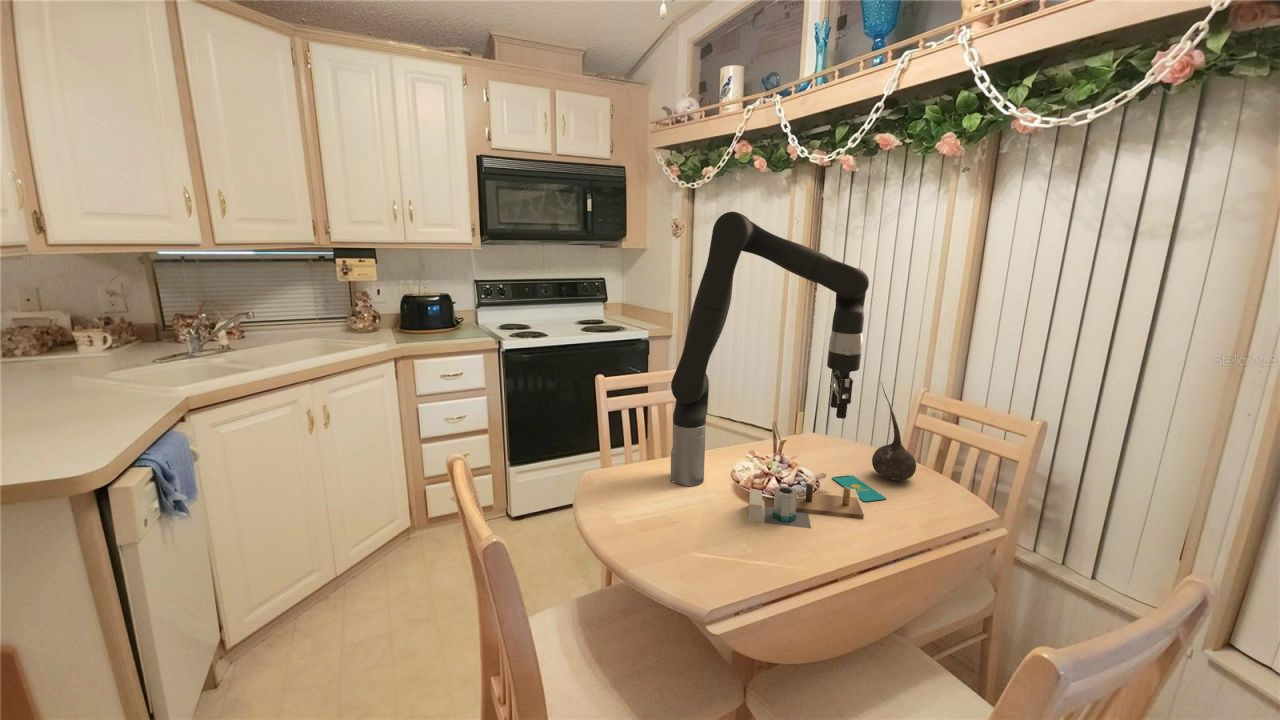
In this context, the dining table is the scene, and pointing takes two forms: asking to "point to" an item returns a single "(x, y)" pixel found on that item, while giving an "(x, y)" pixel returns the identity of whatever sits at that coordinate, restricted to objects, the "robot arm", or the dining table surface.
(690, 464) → the robot arm
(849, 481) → the smartphone
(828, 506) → the pin board
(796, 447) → the dining table surface
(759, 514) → the feeder mat
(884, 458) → the radish
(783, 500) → the sleeve
